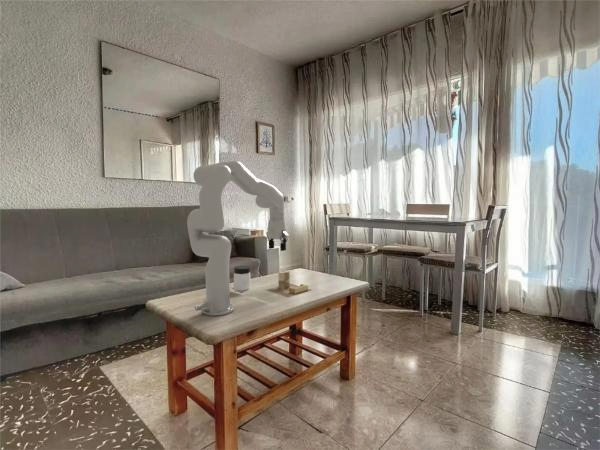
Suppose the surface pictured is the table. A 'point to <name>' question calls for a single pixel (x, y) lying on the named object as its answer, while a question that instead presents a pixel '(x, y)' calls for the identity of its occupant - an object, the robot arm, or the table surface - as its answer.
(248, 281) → the jar
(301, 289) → the clip
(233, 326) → the table surface
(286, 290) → the board
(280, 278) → the tan block
